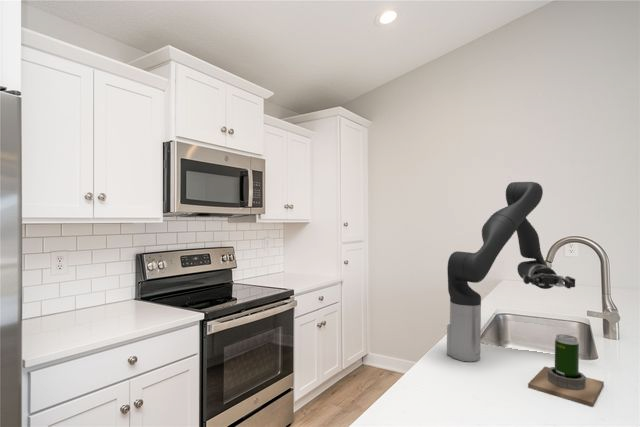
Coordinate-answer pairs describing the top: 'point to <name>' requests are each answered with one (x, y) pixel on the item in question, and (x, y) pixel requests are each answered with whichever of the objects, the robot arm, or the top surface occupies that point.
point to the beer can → (566, 356)
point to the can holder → (567, 386)
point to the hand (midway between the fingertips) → (553, 284)
